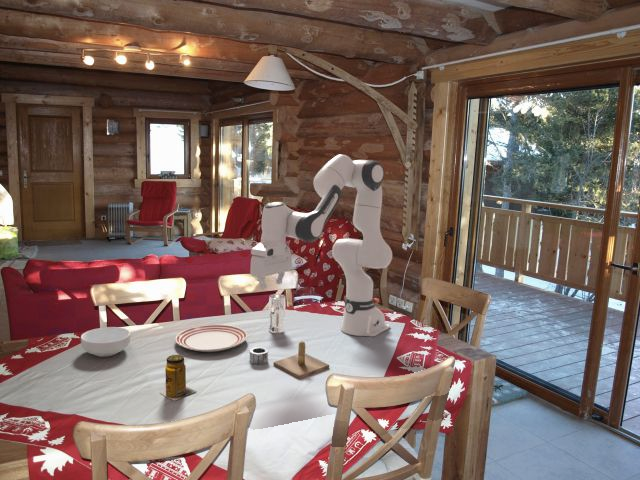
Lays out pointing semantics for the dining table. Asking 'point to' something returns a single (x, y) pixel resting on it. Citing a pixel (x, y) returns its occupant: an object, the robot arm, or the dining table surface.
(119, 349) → the cereal bowl
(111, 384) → the dining table surface
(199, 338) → the dinner plate
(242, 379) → the dining table surface
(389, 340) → the dining table surface
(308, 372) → the wooden peg stand
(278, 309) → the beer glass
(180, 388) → the condiment
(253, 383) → the dining table surface
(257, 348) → the ring
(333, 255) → the robot arm
